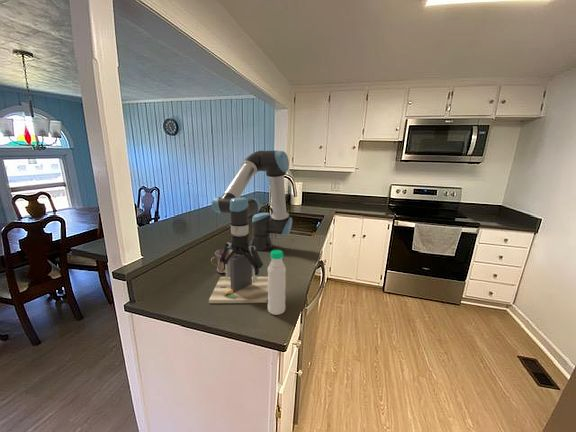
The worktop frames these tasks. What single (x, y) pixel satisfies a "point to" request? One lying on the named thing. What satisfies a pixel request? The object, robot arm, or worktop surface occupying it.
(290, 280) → the worktop surface
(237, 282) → the gray square slab
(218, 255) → the mug
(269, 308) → the water bottle
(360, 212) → the worktop surface
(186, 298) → the worktop surface
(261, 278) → the beige flat board
